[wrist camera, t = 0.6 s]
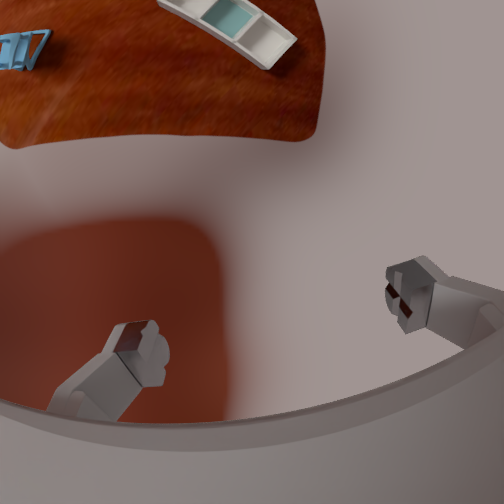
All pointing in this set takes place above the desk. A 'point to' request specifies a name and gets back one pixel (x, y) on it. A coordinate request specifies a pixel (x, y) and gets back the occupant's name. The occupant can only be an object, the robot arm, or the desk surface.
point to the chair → (19, 50)
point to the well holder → (237, 27)
